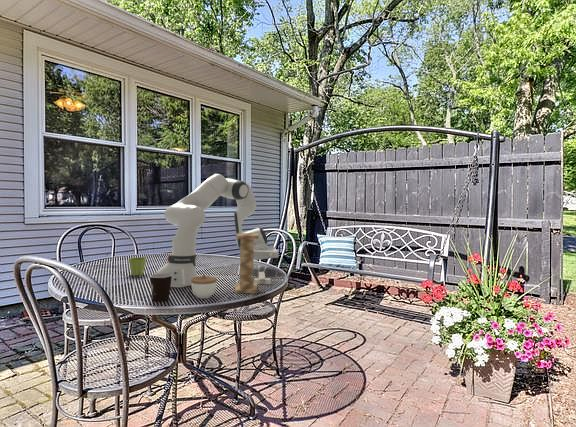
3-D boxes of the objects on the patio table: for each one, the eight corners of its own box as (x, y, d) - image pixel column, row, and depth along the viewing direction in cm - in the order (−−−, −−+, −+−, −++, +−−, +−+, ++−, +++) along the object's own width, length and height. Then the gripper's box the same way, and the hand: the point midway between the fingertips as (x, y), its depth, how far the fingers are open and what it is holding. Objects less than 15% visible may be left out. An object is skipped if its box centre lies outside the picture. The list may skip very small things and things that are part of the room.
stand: (234, 293, 163) (236, 235, 162) (235, 286, 175) (237, 232, 175) (257, 293, 164) (258, 235, 163) (256, 286, 176) (257, 233, 176)
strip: (254, 284, 182) (254, 279, 182) (254, 276, 202) (254, 271, 201) (270, 284, 183) (270, 279, 182) (268, 276, 202) (268, 271, 202)
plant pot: (123, 275, 194) (124, 259, 193) (136, 272, 203) (136, 256, 202) (138, 277, 191) (138, 260, 191) (150, 273, 200) (150, 258, 200)
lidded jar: (201, 292, 163) (202, 271, 163) (221, 295, 159) (221, 274, 158) (185, 297, 154) (185, 275, 153) (206, 301, 149) (206, 278, 149)
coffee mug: (169, 302, 146) (170, 277, 146) (147, 302, 145) (147, 277, 145) (174, 294, 158) (174, 271, 158) (153, 295, 157) (153, 272, 156)
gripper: (243, 246, 217) (243, 249, 203) (277, 247, 219) (279, 250, 205) (243, 256, 217) (242, 261, 203) (277, 257, 219) (279, 261, 205)
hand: (261, 256), depth 204 cm, fingers open, 8 cm apart
